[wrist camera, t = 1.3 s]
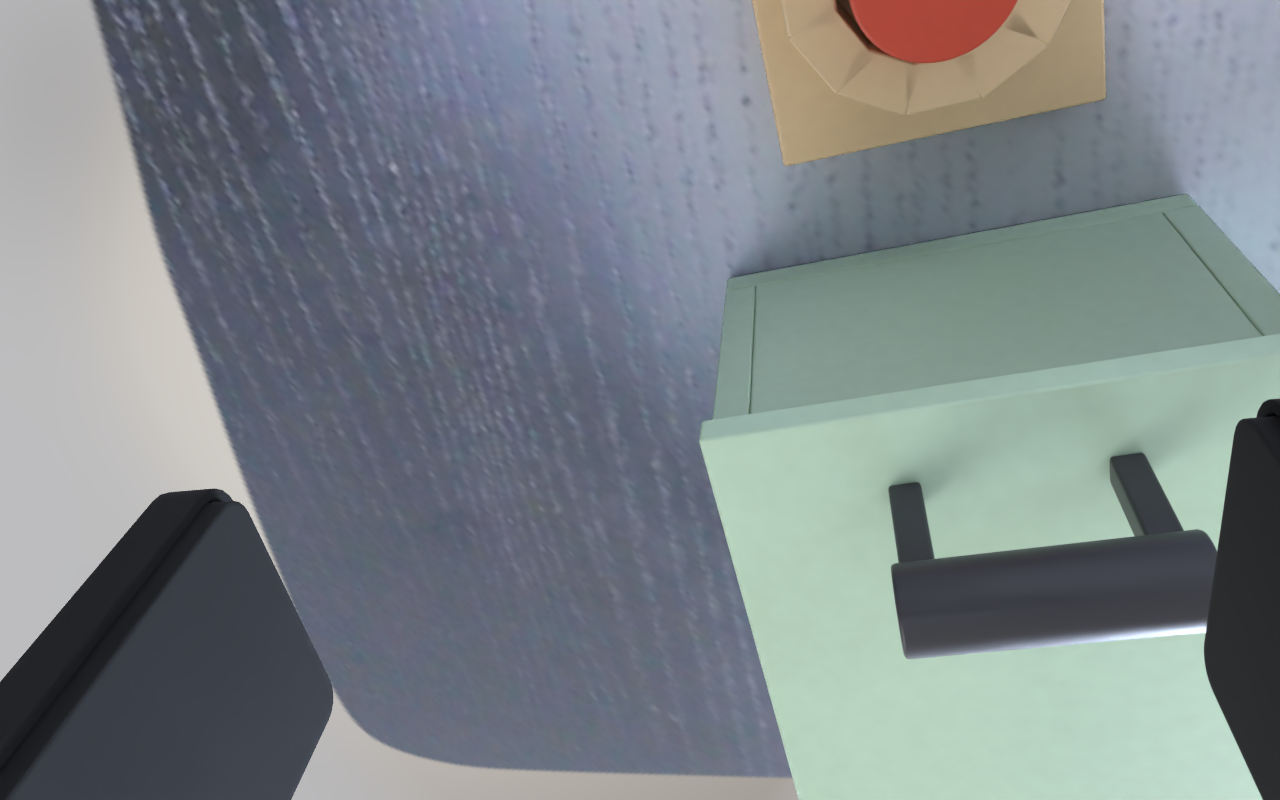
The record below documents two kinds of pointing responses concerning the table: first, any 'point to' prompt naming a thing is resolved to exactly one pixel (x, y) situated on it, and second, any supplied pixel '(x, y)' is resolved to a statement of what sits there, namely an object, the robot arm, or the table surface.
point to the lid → (996, 578)
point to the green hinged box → (988, 307)
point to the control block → (920, 75)
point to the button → (930, 26)
